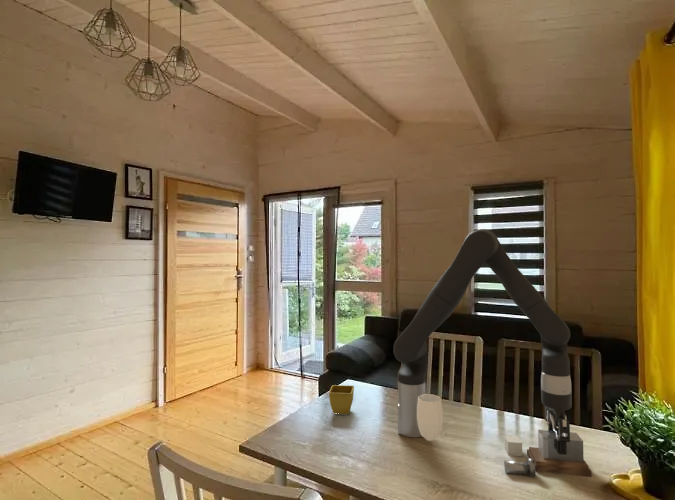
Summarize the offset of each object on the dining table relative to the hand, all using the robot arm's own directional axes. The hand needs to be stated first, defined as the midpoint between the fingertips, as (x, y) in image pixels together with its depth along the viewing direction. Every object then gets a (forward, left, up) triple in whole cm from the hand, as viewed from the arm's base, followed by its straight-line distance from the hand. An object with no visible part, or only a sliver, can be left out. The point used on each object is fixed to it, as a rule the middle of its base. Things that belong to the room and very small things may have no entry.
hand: (557, 446), depth 110 cm
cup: (-35, -11, -5) cm, 37 cm away
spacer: (-11, +5, -5) cm, 13 cm away
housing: (+1, 0, -3) cm, 3 cm away
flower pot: (-68, +24, -5) cm, 72 cm away
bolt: (-12, -7, -5) cm, 15 cm away
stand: (0, 0, -5) cm, 5 cm away
